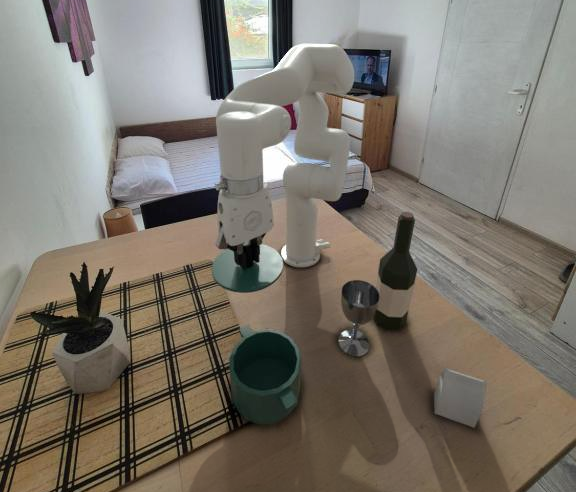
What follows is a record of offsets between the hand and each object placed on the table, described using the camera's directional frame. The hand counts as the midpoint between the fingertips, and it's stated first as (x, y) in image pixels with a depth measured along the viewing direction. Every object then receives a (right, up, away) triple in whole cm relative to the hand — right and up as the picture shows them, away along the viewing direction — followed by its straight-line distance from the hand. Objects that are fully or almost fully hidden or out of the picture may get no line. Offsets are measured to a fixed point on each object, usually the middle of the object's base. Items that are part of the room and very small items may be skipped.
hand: (247, 261), depth 66 cm
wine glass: (+24, -21, +9) cm, 33 cm away
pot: (+4, -25, -1) cm, 26 cm away
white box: (+40, -27, -4) cm, 49 cm away
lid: (0, -1, +1) cm, 1 cm away
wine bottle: (+34, -18, +16) cm, 42 cm away
